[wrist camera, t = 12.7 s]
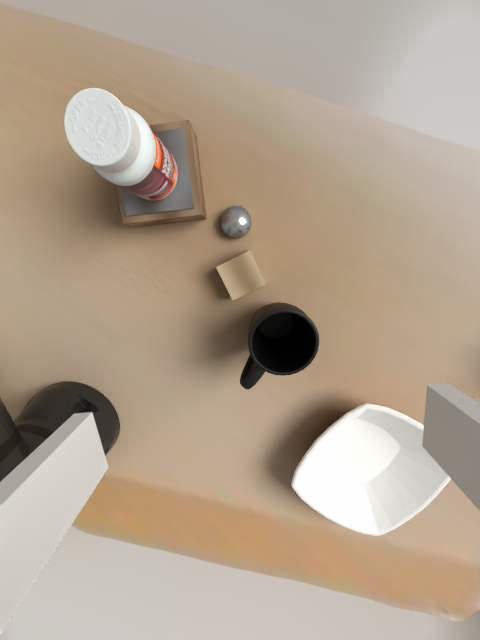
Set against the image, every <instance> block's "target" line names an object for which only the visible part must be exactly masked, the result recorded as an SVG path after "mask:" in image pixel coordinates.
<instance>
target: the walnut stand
mask: <svg viewBox="0 0 480 640" xmlns="http://www.w3.org/2000/svg"><path fill="white" fill-rule="evenodd" d="M149 127H150V128H151V129H152V131H153V132H154V133H155V134H156V135H157V137H158V138H159V139H160V140H161V142H162V143H163V144H164V145H165V147H166V148H167V149H168V150H169V152H170V153H171V154H172V156H173V158H174V160H175V162H176V166H177V172H178V175H177V182H176V185H175V187H174V189H173V191H172V192H171V193H170V194H169V195H168V196H167V197H165V198H163V199H160V200H147V199H144V198H141V197H139V196H137V195H135V194H133V193H131V192H129V191H127V190H126V189H123V188H121V187H119V186H117V185H116V184H115V189H116V194H117V199H118V203H119V208H120V213H121V218H122V223H123V224H125V225H130V226H134V227H141V226H149V225H158V224H166V223H175V222H183V221H192V220H200V219H207V216H206V209H205V201H204V193H203V185H202V178H201V170H200V162H199V155H198V147H197V139H196V135H195V132H194V130H193V128H192V126H191V123H190V121H189V120H186V121H179V122H172V123H165V124H158V125H151V126H149Z"/></svg>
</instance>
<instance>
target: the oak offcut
mask: <svg viewBox="0 0 480 640" xmlns="http://www.w3.org/2000/svg"><path fill="white" fill-rule="evenodd" d="M216 268H217V270H218V272H219V274H220V276H221V278H222V280H223V282H224V284H225V286H226V288H227V290H228V292H229V294H230V296H231V298H232V300H235V299H237V298H239V297H241V296H244V295H246V294H248V293H250V292H252V291H254V290H256V289H258V288H260V287H262V286H264V285H266V284H265V281H264V279H263V277H262V275H261V273H260V271H259V268H258V266H257V264H256V262H255V260H254V258H253V255H252V253H251V251H250V250H249V251H247V252H245V253H243V254H241V255H239V256H237V257H235V258H233V259H231V260H229V261H227V262H225V263H223V264H221V265H219V266H217V267H216Z"/></svg>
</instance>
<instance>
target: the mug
mask: <svg viewBox="0 0 480 640" xmlns="http://www.w3.org/2000/svg"><path fill="white" fill-rule="evenodd" d="M248 346H249V352H250V356H249V358H248V360H247V362H246V365H245V367H244V369H243V372H242V374H241V378H240V384H241V386H242V387H244V388H245V389H250V388H252V387H253V386H254V385H255V384H256V383H257V382H258V380H259V379H260V378H261V377H262V375H263V374H264V373H265V371H266V372H268V373H271V374H275V375H291V374H294V373H297V372H299V371H301V370H303V369H305V368H306V367H307V366H308V365H309V364H310V363H311V362H312V360H313V359H314V358H315V356H316V353H317V351H318V346H319V335H318V331H317V328H316V326H315V325H314V323H313V322H312V320H311V319H310V318H309V317H308V316H307V315H306V314H305V313H304V312H303V311H302V310H300V309H299V308H297V307H295V306H293V305H290V304H287V303H272V304H269V305H266V306H265V307H263V308H261V309H260V310H259V311H258V312H257V313H256V315H255V316H254V318H253V319H252V322H251V324H250V327H249V333H248Z"/></svg>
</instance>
